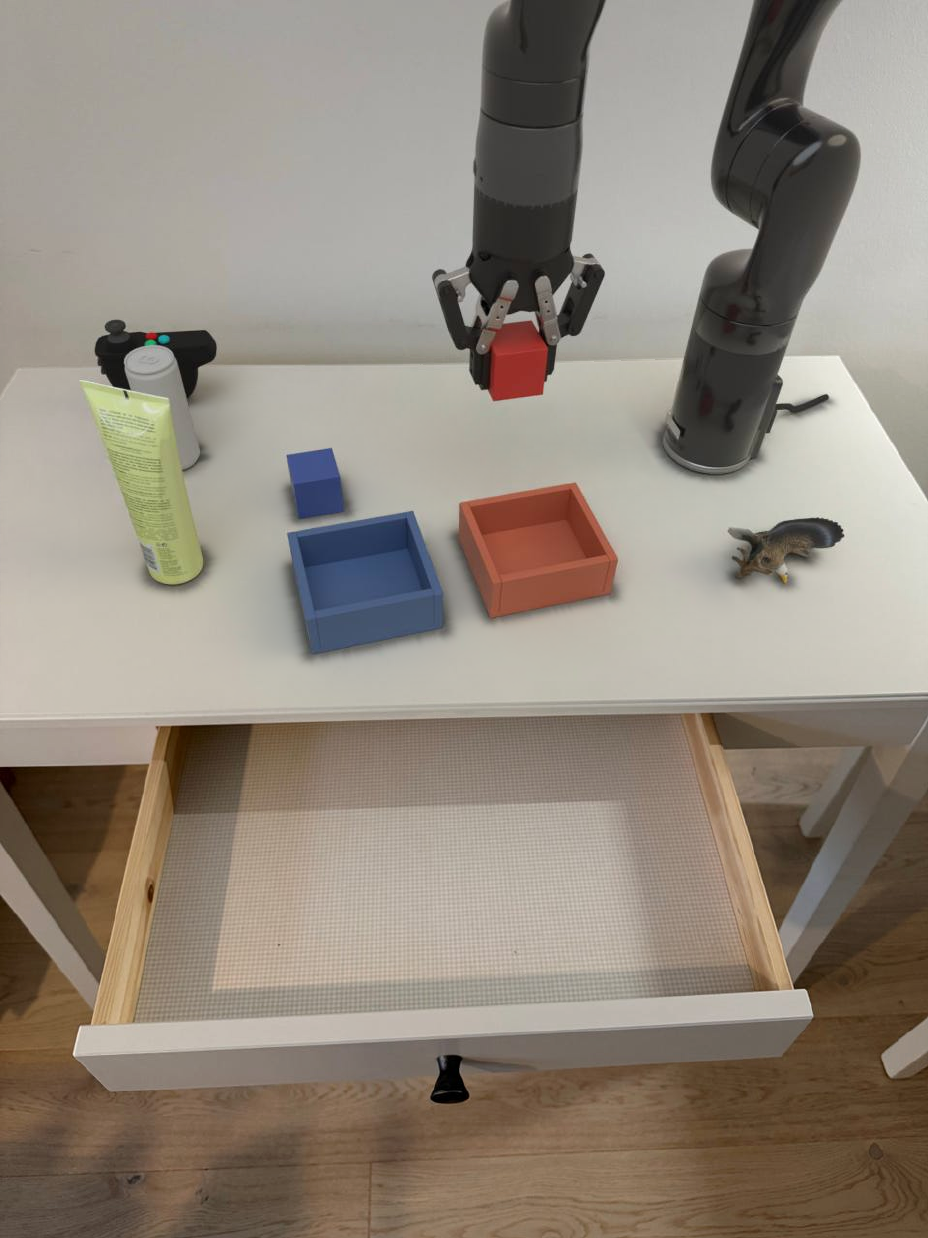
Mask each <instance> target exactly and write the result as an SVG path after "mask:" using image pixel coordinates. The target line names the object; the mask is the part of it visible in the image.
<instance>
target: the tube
mask: <svg viewBox="0 0 928 1238" xmlns="http://www.w3.org/2000/svg"><path fill="white" fill-rule="evenodd" d="M79 384H80V386H81V389H82V392H83V394H84V397H85V399H86V402H87V404H88V407H89V409H90V412H91V415H92V417H93V419H94V423H95V425H96V427H97V428H96V429H97V430H98V432H99V433H98V434H99V435H100V439H101V441H102V444H103V446H104V448H105V452H106V454H107V457H108V460H109V462H110V465H111V467H112V471H113V474H114V475H115V478H116V481H117V484H118V487H119V490H120V492H121V495H122V498H123V500H124V503H125V507H126V509H127V511H128V514H129V518H130V521H131V524H132V526H133V529H134V532H135V534H136V537H137V541H138V543H139V545H140V546H139V547H140V549H141V553H142V555H143V559H144V561H145V563H146V567H147V569H148V572H149V574H150V576H151V578H152V579H154V580H155V581H156V582H159V583H161V584H166V585H181V584H184V583H187V582H190V581H191V580H193V579H195V578H196V577H197V576H198V575H199V574H200V573H201V571H202V569H203V567H204V557H203V553H202V549H201V544H200V541H199V536H198V532H197V529H196V524H195V521H194V515H193V512H192V508H191V503H190V500H189V494H188V491H187V485H186V482H185V481H186V480H185V476H184V473H183V470H182V467H181V462H180V458H179V453H178V448H177V443H176V438H175V433H174V428H173V422H172V415H171V406H170V401H169V398H165V397H160V396H154V395H149V394H145V393H140V392H135V391H130V390H125V389H121V388H116V387H113V386H112V385H107V384H102V383H97V382H95V381H94V382H93V381H89V380H85V379H79Z"/></svg>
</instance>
